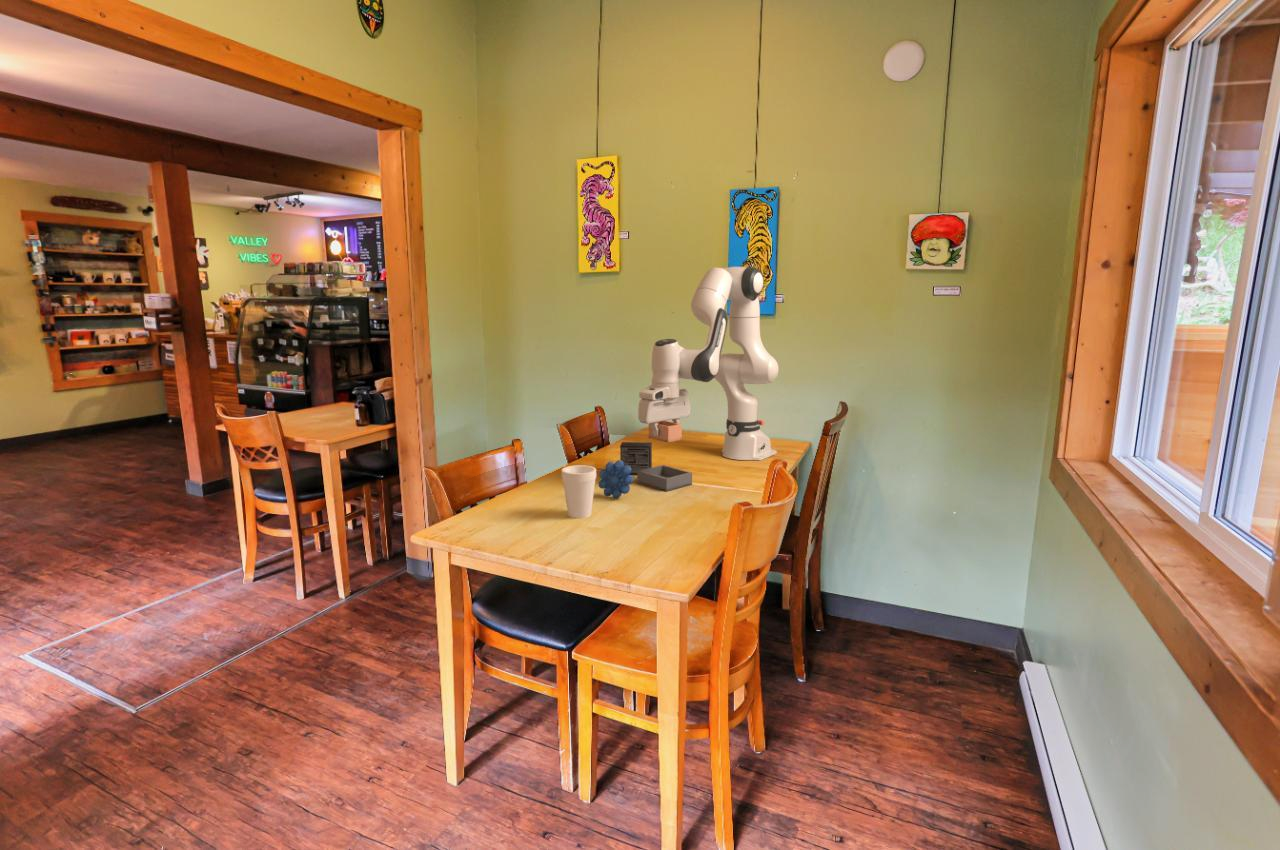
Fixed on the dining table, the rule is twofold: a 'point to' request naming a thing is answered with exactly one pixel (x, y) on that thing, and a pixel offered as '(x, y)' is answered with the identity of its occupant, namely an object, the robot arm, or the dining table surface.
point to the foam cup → (579, 489)
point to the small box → (636, 455)
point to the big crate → (664, 477)
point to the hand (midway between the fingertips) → (665, 433)
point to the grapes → (615, 479)
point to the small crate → (667, 431)
